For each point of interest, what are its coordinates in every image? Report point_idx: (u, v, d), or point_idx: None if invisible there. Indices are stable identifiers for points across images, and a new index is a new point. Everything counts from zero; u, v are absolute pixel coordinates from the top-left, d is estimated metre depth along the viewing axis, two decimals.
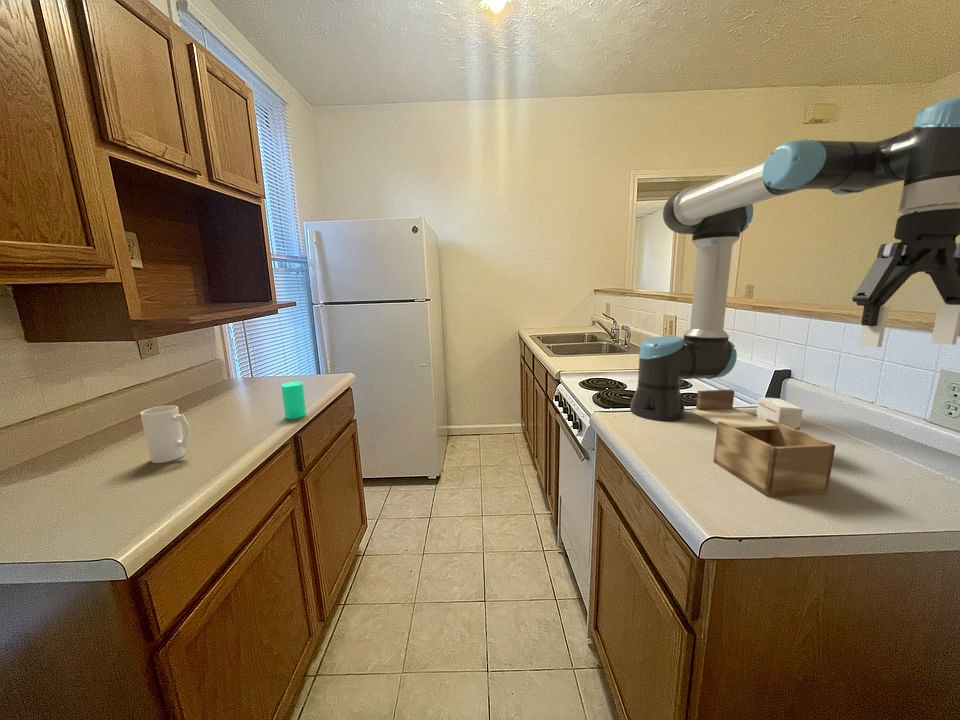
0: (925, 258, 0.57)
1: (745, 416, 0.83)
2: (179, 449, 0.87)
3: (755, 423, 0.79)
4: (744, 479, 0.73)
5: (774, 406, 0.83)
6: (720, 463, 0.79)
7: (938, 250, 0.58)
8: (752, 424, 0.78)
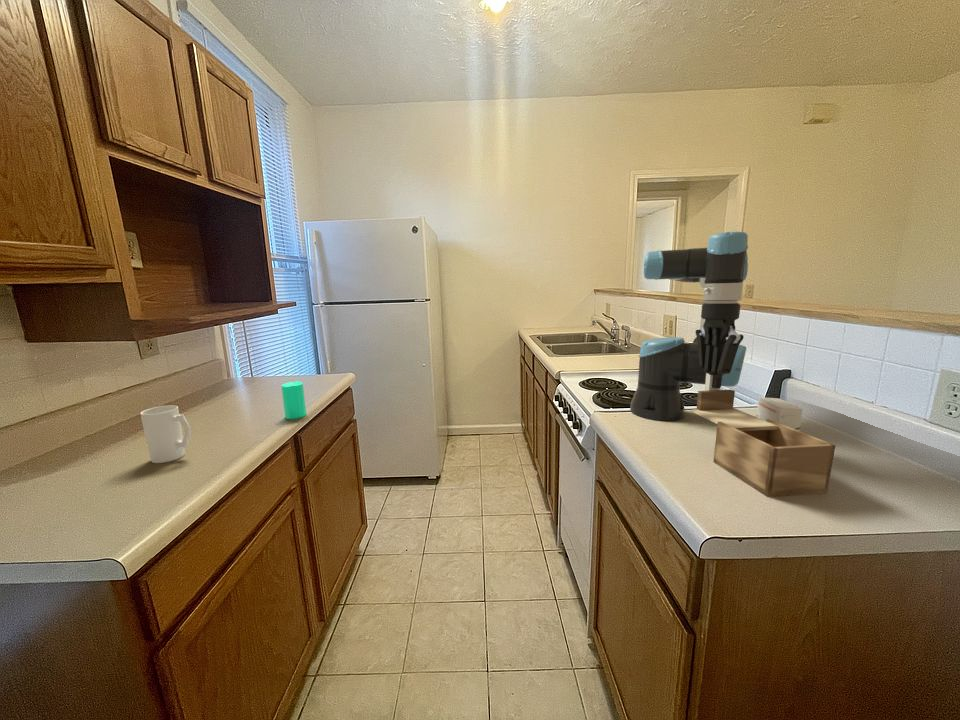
0: (706, 334, 0.88)
1: (746, 416, 0.83)
2: (179, 449, 0.87)
3: (755, 423, 0.78)
4: (744, 479, 0.73)
5: (774, 406, 0.83)
6: (720, 463, 0.79)
7: (717, 321, 0.85)
8: (753, 425, 0.78)
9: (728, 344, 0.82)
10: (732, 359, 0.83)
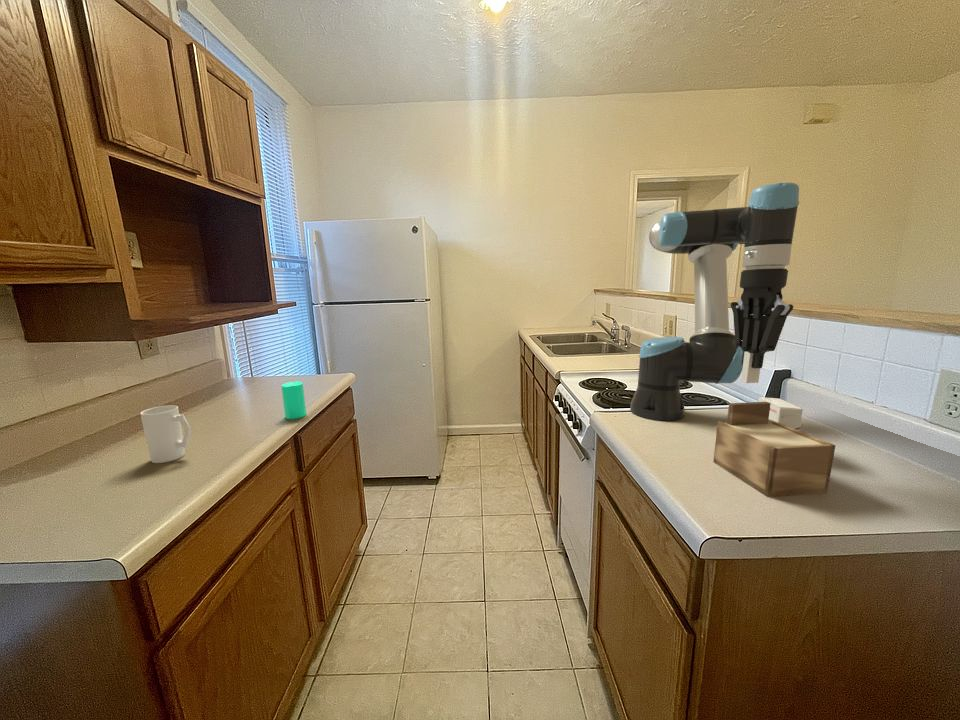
0: (745, 306, 0.76)
1: (785, 433, 0.73)
2: (179, 449, 0.87)
3: (799, 442, 0.69)
4: (744, 479, 0.73)
5: (774, 406, 0.83)
6: (720, 463, 0.79)
7: (760, 290, 0.73)
8: (796, 444, 0.68)
9: (774, 316, 0.70)
10: (778, 334, 0.72)
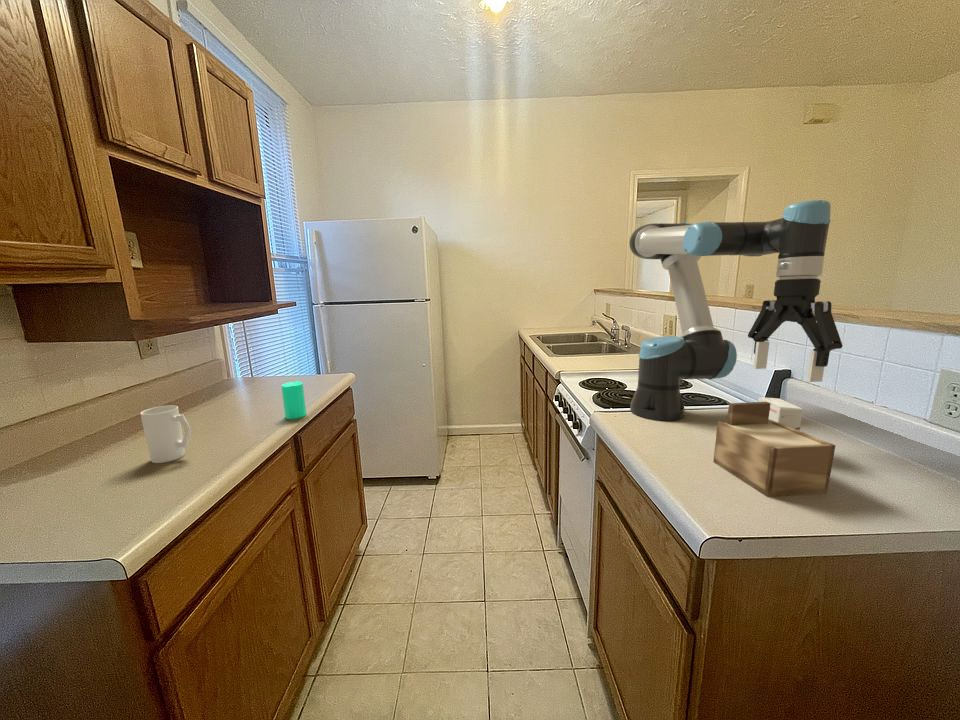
0: (776, 312, 0.82)
1: (785, 433, 0.73)
2: (179, 449, 0.87)
3: (799, 442, 0.69)
4: (744, 479, 0.73)
5: (774, 406, 0.83)
6: (720, 463, 0.79)
7: None
8: (796, 444, 0.68)
9: (819, 312, 0.74)
10: (834, 329, 0.72)
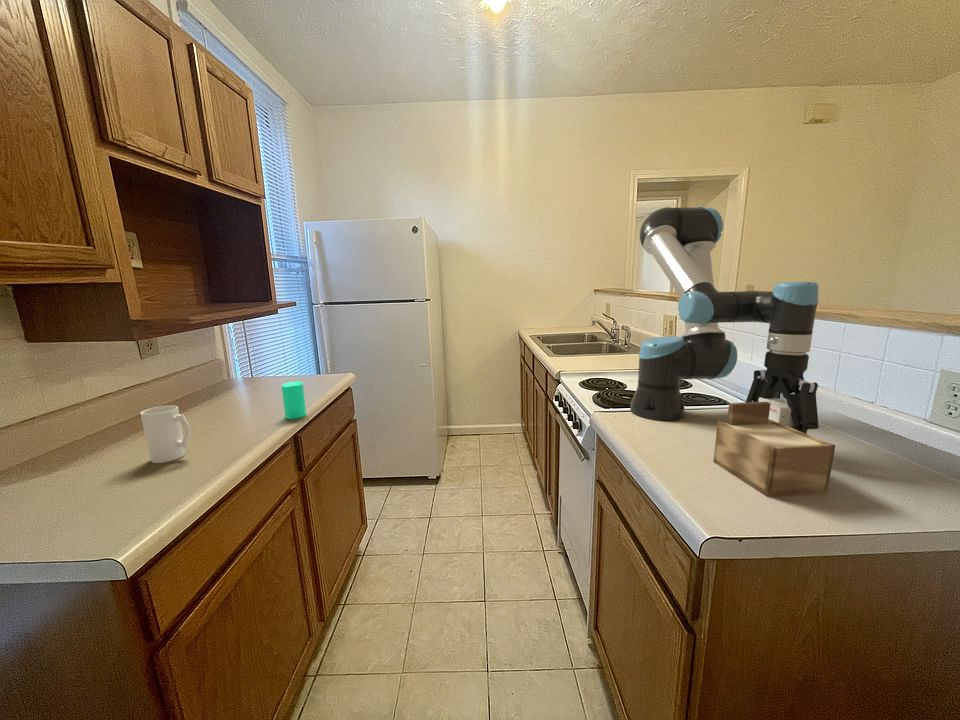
0: (768, 382, 0.85)
1: (785, 433, 0.73)
2: (179, 449, 0.87)
3: (799, 442, 0.69)
4: (744, 479, 0.73)
5: (774, 406, 0.83)
6: (720, 463, 0.79)
7: (781, 376, 0.82)
8: (796, 444, 0.68)
9: (804, 394, 0.77)
10: (815, 411, 0.77)
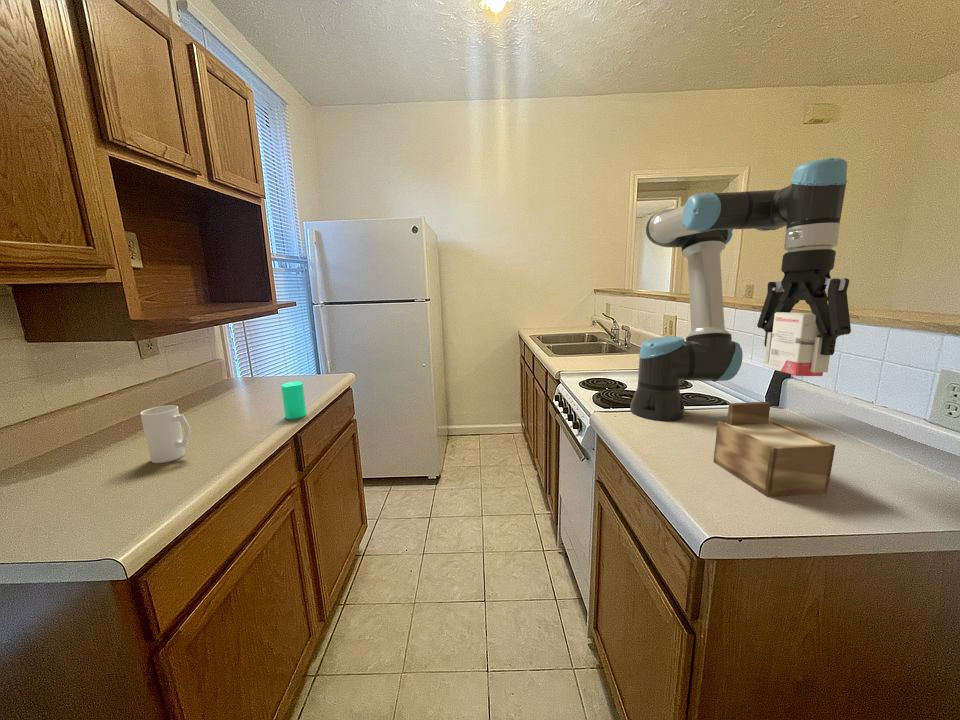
0: (785, 291, 0.72)
1: (785, 433, 0.73)
2: (179, 449, 0.87)
3: (799, 442, 0.69)
4: (744, 479, 0.73)
5: (795, 315, 0.69)
6: (720, 463, 0.79)
7: (802, 280, 0.69)
8: (796, 444, 0.68)
9: (833, 292, 0.64)
10: (846, 312, 0.64)
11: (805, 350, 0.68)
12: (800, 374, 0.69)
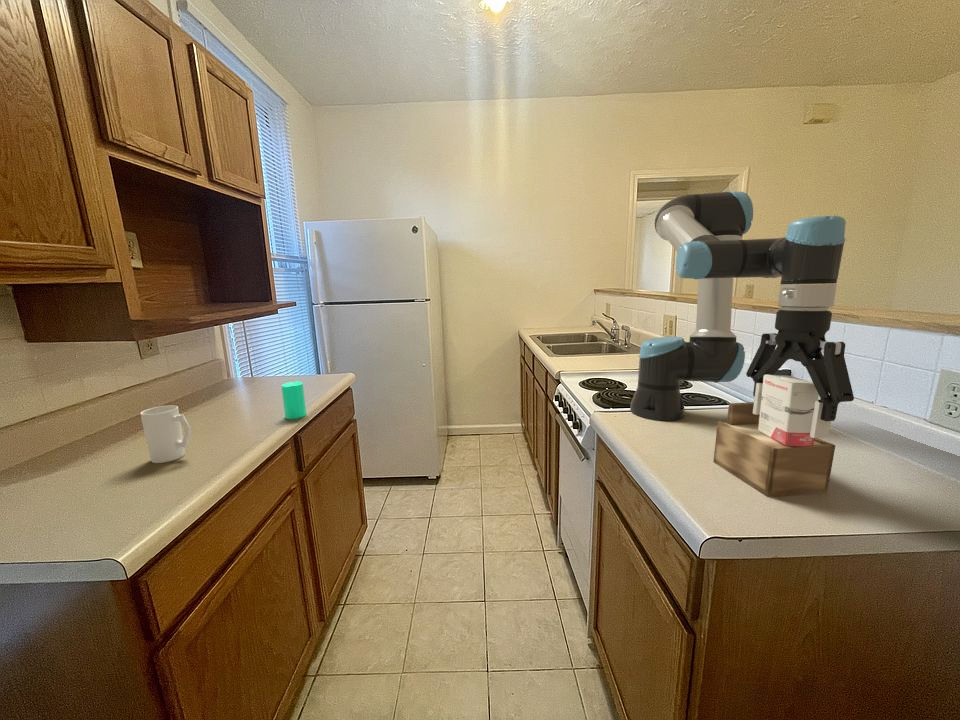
0: (778, 348, 0.69)
1: None
2: (179, 449, 0.87)
3: None
4: (744, 479, 0.73)
5: (784, 382, 0.67)
6: (720, 463, 0.79)
7: (796, 342, 0.66)
8: None
9: (829, 356, 0.60)
10: (846, 377, 0.60)
11: (794, 419, 0.66)
12: (790, 444, 0.66)
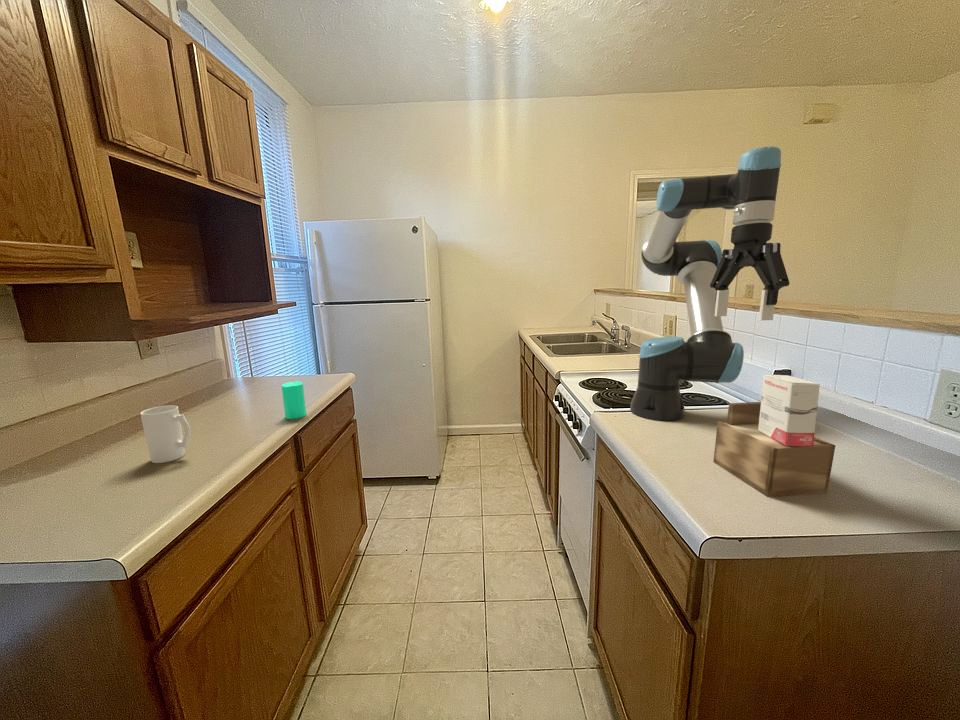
0: (733, 258, 0.87)
1: None
2: (179, 449, 0.87)
3: None
4: (744, 479, 0.73)
5: (784, 382, 0.67)
6: (720, 463, 0.79)
7: None
8: None
9: (769, 253, 0.78)
10: (782, 268, 0.77)
11: (794, 419, 0.66)
12: (790, 444, 0.66)
